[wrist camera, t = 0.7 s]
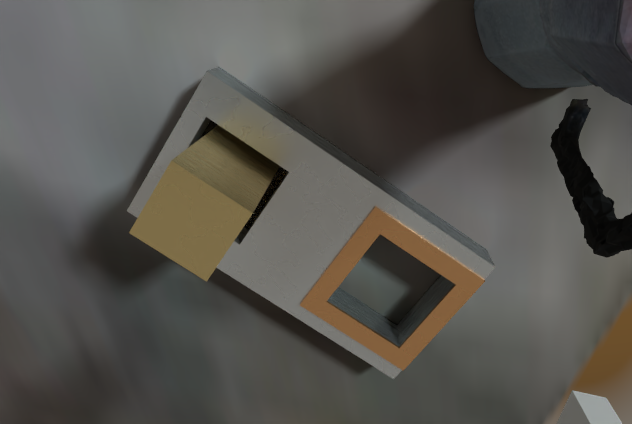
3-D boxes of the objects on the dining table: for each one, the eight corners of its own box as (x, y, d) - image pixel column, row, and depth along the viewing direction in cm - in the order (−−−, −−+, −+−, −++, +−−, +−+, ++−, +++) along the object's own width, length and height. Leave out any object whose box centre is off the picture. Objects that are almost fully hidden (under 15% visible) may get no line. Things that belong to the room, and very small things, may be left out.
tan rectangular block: (187, 179, 35) (128, 232, 26) (221, 122, 33) (171, 160, 25) (245, 217, 35) (206, 281, 27) (281, 163, 34) (252, 213, 25)
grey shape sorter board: (142, 197, 35) (125, 212, 33) (218, 66, 32) (205, 71, 29) (392, 356, 38) (393, 381, 35) (486, 250, 34) (496, 268, 32)
